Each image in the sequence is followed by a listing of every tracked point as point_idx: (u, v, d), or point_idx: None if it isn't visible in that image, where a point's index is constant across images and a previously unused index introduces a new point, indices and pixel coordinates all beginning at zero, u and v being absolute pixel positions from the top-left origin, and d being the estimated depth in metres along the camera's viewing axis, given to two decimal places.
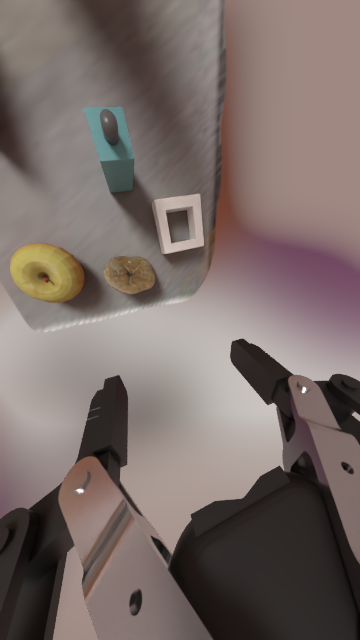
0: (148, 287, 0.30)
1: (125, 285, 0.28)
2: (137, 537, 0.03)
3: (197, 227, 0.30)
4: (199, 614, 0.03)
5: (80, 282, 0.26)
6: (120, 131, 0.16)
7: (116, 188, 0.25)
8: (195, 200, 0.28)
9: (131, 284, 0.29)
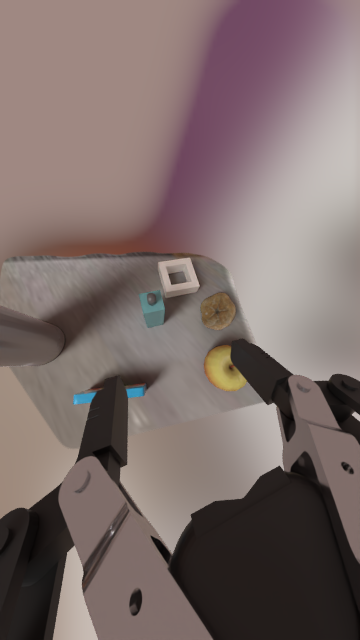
0: (227, 296, 0.36)
1: (228, 312, 0.34)
2: (137, 537, 0.03)
3: (178, 263, 0.39)
4: (199, 614, 0.03)
5: (230, 346, 0.33)
6: None
7: None
8: (162, 265, 0.38)
9: (226, 308, 0.35)
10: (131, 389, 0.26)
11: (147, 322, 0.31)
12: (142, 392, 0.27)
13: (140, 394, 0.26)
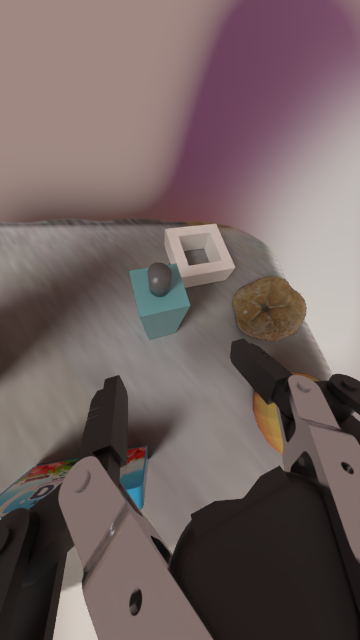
0: (285, 281, 0.21)
1: (293, 310, 0.19)
2: (137, 537, 0.03)
3: (198, 231, 0.24)
4: (199, 614, 0.03)
5: (304, 374, 0.17)
6: None
7: None
8: (172, 233, 0.23)
9: (287, 302, 0.20)
10: None
11: (149, 332, 0.16)
12: (139, 500, 0.11)
13: None
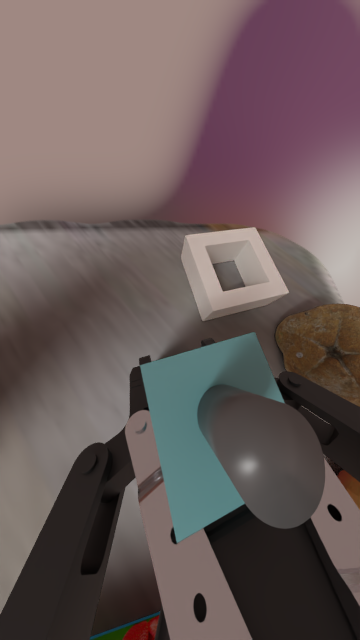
0: None
1: None
2: None
3: (232, 238, 0.16)
4: (227, 585, 0.03)
5: None
6: (203, 377, 0.04)
7: None
8: (196, 242, 0.15)
9: None
10: None
11: None
12: None
13: None
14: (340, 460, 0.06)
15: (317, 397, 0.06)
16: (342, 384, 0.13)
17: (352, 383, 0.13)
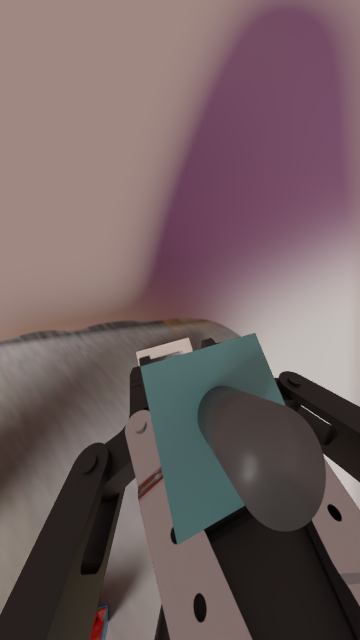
0: None
1: None
2: None
3: (170, 350, 0.24)
4: None
5: None
6: (203, 378, 0.04)
7: None
8: (143, 356, 0.23)
9: None
10: None
11: None
12: None
13: None
14: (340, 460, 0.06)
15: (317, 397, 0.06)
16: None
17: None
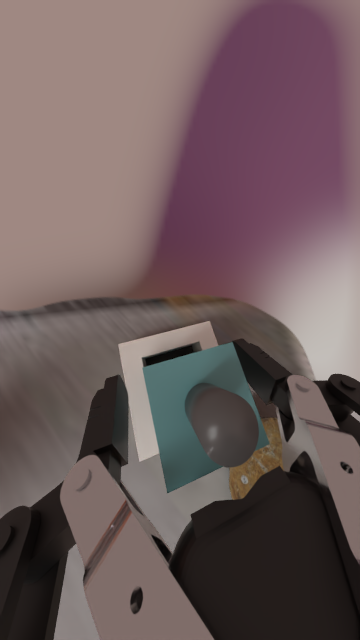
0: None
1: None
2: (138, 536, 0.03)
3: (178, 341, 0.14)
4: (200, 613, 0.03)
5: None
6: (190, 377, 0.06)
7: None
8: (131, 353, 0.13)
9: None
10: None
11: None
12: None
13: None
14: None
15: None
16: None
17: None
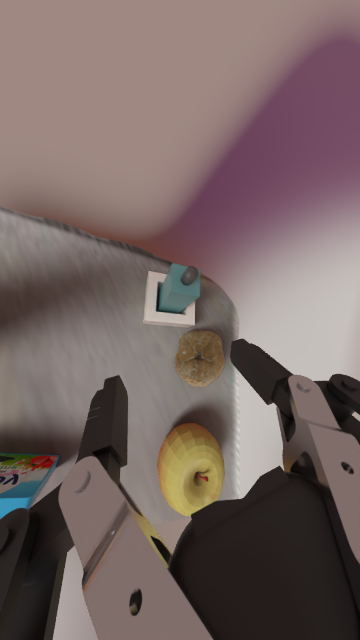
0: (220, 342, 0.25)
1: (213, 367, 0.23)
2: (137, 537, 0.03)
3: None
4: (199, 614, 0.03)
5: (207, 433, 0.22)
6: (184, 271, 0.19)
7: None
8: (153, 277, 0.25)
9: (212, 359, 0.24)
10: (3, 500, 0.14)
11: (163, 305, 0.24)
12: None
13: None
14: None
15: None
16: (191, 371, 0.24)
17: (195, 371, 0.24)
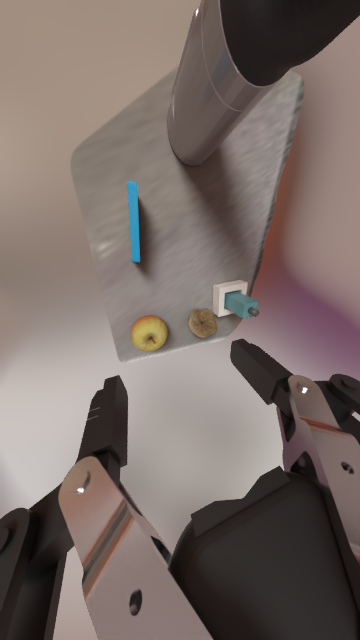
0: (213, 332, 0.43)
1: (201, 332, 0.41)
2: (137, 537, 0.03)
3: None
4: (199, 614, 0.03)
5: None
6: (254, 308, 0.36)
7: None
8: (244, 286, 0.41)
9: (204, 331, 0.42)
10: (138, 250, 0.27)
11: (229, 297, 0.40)
12: (135, 261, 0.28)
13: (133, 259, 0.27)
14: None
15: None
16: (195, 320, 0.41)
17: (195, 322, 0.41)
